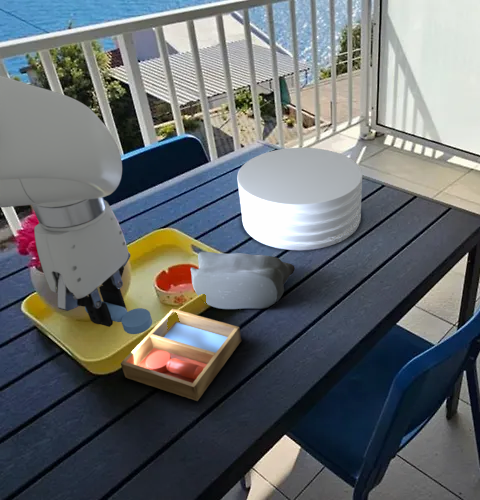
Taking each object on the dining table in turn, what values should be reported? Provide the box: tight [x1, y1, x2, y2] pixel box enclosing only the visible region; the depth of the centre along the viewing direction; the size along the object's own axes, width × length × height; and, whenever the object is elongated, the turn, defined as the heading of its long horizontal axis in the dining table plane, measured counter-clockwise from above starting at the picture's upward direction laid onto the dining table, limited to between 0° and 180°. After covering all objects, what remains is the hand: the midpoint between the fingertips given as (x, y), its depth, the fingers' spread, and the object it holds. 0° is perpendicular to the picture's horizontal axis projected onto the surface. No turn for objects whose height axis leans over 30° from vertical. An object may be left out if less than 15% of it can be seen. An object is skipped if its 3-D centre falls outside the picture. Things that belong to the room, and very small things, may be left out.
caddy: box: [120, 308, 242, 402], centre depth 81 cm, size 13×13×3 cm
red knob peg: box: [146, 351, 204, 380], centre depth 78 cm, size 10×4×2 cm, turn 71°
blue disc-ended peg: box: [84, 300, 153, 335], centre depth 70 cm, size 10×4×2 cm, turn 72°
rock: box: [190, 251, 296, 310], centre depth 94 cm, size 18×11×8 cm, turn 89°
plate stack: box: [236, 147, 363, 251], centre depth 116 cm, size 28×28×12 cm
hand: (109, 315), depth 71 cm, fingers closed on blue disc-ended peg, 2 cm apart
